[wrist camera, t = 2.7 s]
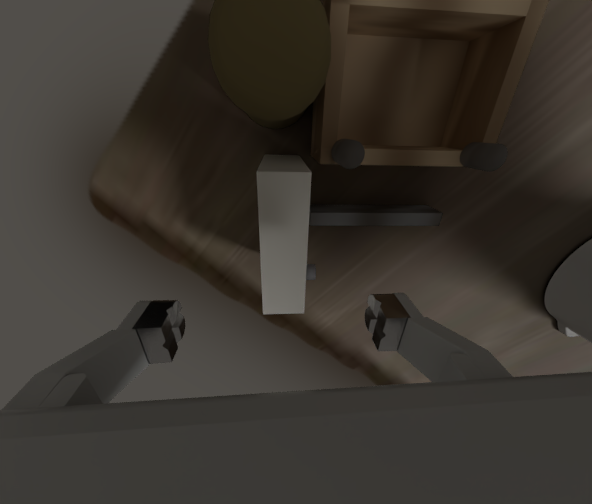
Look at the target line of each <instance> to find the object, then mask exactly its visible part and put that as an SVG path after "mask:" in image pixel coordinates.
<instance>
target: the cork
mask: <svg viewBox="0 0 592 504" xmlns="http://www.w3.org/2000/svg"><path fill="white" fill-rule="evenodd" d="M208 45H209V50H210V56H211V62H212V67H213V70H214V72H215V74H216V76H217V78H218V81H219V83H220V85H221V87H222V89H223V90H224V92H225V93H226V94H227V95H228V97H229V98H230V99H231V100H232V101H233V103H234V104H235V105H236V106H238V107H239V108H240V109H242V110H243V111H245V112H246V113H247V115H248V116H249V117H250V118H251V119H252V120H253V121H255V122H256V123H258V124H259V125H261V126H264V127H267V128H271V129H279V128H285V127H287V126H290V125H292V124H294V123H295V122H296V121H297V120H298V119H299V118H301V117H302V116H303V114H304V113H305V111H306V109H307V107H308V106H309V105H310V104H311V103H312V102H313V101H314V100H315V99H316V97H317V96H318V94H319V92H320V90H321V89H322V87H323V85H324V83H325V81H326V77H327V73H328V69H329V66H330V62H331V33H330V29H329V25H328V20H327V16H326V12H325V8H324V6H323V5H322V3H321V1H320V0H215V2H214V4H213V7H212V10H211V13H210V21H209V33H208Z"/></svg>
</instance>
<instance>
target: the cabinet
mask: <svg viewBox="0 0 592 504" xmlns="http://www.w3.org/2000/svg"><path fill="white" fill-rule="evenodd" d="M548 2H549V0H324V2H323V6H324V8H325V12H326V16H327V20H328V25H329V29H330V33H331V62H330V66H329V69H328V73H327V77H326V81H325V83H324V85H323V87H322V89H321V90H320V92H319V94H318V96H317V97H316V99H315V100H314V101H313V114H312V134H311V154H310V156H312V157H313V158H314V159H315V160H316V161H317V162H318V163H319V164H339V165H341V166H342V167H344V168H346V169H354V168H356V167H358V166H359V165H395V166H448V167H470V168H474V169H479V170H484V171H489V172H490V171H494V170H496V169H498V168H499V167H501V166H502V165H503V163H504V162H505V160H506V158H507V153H508V151H507V148H506V147H505V146H504V145H503V144H496V142H497V140H498V137H499V134H500V132H501V129H502V126H503V123H504V121H505V118H506V115H507V113H508V110H509V107H510V105H511V102H512V99H513V97H514V94H515V91H516V88H517V86H518V83H519V80H520V78H521V75H522V72H523V70H524V67H525V64H526V61H527V59H528V56H529V53H530V51H531V48H532V45H533V43H534V40H535V37H536V35H537V32H538V29H539V26H540V24H541V21H542V18H543V16H544V13H545V10H546V8H547V5H548ZM442 215H443V213H441V212H439V211H438V210H436V209H434V208H432V207H430V206H428V205H310V212H309V223H310V226H439V224H440V221H441V218H442Z"/></svg>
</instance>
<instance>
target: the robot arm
mask: <svg viewBox="0 0 592 504" xmlns="http://www.w3.org/2000/svg"><path fill="white" fill-rule="evenodd" d="M544 301H545V307H546V309H547V311H548V312H549V313H550V314H551V315H552V316H553V317H554V318H555V319H556V320H557V324H558V330H559V331H560V332H561V333H563V334H565V335H566V336H568V337H574V336H581V337H583V338H584V339H586V340H588V341H589V342H591V343H592V239H591V240H589V241H588V242H586V243H585V244H583V245H582V246H581V247H579V248H578V249H577V250H576V251H575V252H574V253H572V254H571V255H570V256H569V257H568V258H567V259H566V260H565V261H564V262H563V263H562V265H561V266H560V267H559V268H558V269H557V271H556V272H555V273H554V275H553V277H552V278H551V280H550V282H549V284H548V286H547V289H546V292H545V300H544ZM367 302H368V304H369V307H368V308H367V309H366V311H365V323H366V326H367V329H368V331H370V332H371V333H372V334H373V337H372V340H373V342H374V344H375V346H376V348H377V350H378V351H397V352H398V353H399V354H401V355H402V356H403V357H404V358H405V359H406V360H408V361H409V362H410V363H411V364H412V365H413V366H414V367H416V368H417V369H418V370H419V371H420V372H421V373H423V374H424V375H425V376H426V377H427V378H428V379H429V380H431V381H432V382H429V383H413V384H398V385H382V386H367V387H352V388H336V389H321V390H306V391H291V392H276V393H260V394H246V395H245V394H244V395H229V396H214V397H199V398H184V399H168V400H153V401H138V402H124V403H123V402H122V403H109V402H110V401H111V400H112V399H113V398H114V397H115V396H116V395H117V394H118V393H119V392H121V391H122V390H123V389H124V388H125V387H126V386H127V385H128V384H129V383H130V382H131V381H132V380H133V379H134V378H136V377H137V376H138V375H139V374H140V373H141V372H142V371H143V370H144V369H145V368H146V367H147V366H149V364H153V363H165V362H172V361H173V358H174V356H175V354H176V351H177V349H178V346H177V342H179V341H180V340H181V339H182V337H183V334H184V330H185V319H184V316H183V315H182V314H181V313H180V311H181V309H182V307H181V303H180V302H179V301H178V300H170V301H169V300H163V301H160V300H158V301H139V302H137V303H136V305H135V306H134V307H133V308H132V310H131V311H130V313H129V314H128V315H127V316H126V318H125V319H124V320H123V322H122V323H121V324H120V325H119V327H118V328H117V329H116V330H111V331H109V332H108V333H106V334H104V335H103V336H101V337H100V338H97V339H96V340H94V341H92V342H91V343H89V344H87V345H85V346H84V347H82V348H80V349H79V350H77V351H75V352H73V353H72V354H70V355H68V356H66V357H65V358H63V359H61V360H60V361H58V362H56V363H54V364H53V365H51V366H49V367H48V368H46V369H44V370H42V371H41V372H39V373H37V374H35V375H34V377H32V378H31V379H30V381H29V382H28V383H27V384H26V385H25V386H24V387H23V388H22V389H21V390H20V391H19V392H18V393H17V394H16V395H15V396H14V397H13V398H12V399H11V401H10V402H9V403H8V404H7V405H6V406H5V407H4V408H3V409H2V410H0V504H592V372H583V373H567V374H552V375H536V376H521V377H513V376H512V375H511V374H510V373H509V372H508V371H507V370H506V369H505V368H504V367H503V366H502V365H501V364H500V363H499V361H498V360H497V359H496V358H495V357H494V356H493V355H492V354H491V353H490V352H489V351H488V350H486V349H485V348H483V347H481V346H479V345H477V344H475V343H474V342H472V341H470V340H468V339H466V338H464V337H462V336H461V335H459V334H457V333H455V332H453V331H451V330H450V329H448V328H446V327H444V326H442V325H440V324H439V323H437V322H435V321H433V320H431V319H429V318H428V317H423V316H422V314H421V313H420V312H419V311H418V309H417V308H416V307H415V305H414V304H413V303H412V302H411V300H410V299H409V298H408V297H407V295H406V294H404V293H392V294H370V295H369V297H368V301H367Z"/></svg>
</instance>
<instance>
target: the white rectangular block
mask: <svg viewBox="0 0 592 504" xmlns="http://www.w3.org/2000/svg"><path fill="white" fill-rule="evenodd" d="M256 174H257V195H258V216H259V237H260V259H261V280H262V301H263V314H292V313H304V305H305V286H306V280H315V278H316V268H315V264H307V249H308V231H309V212H310V194H311V175H312V172H311V171H310V169H309V168H308V167H307V165H306V164H305V163H304V161H303V160H302V159H301V157H300V156H299V155H268V154H265V155H264V157H263V159H262V161H261V163H260V165H259V167H258V169H257V171H256Z"/></svg>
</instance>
